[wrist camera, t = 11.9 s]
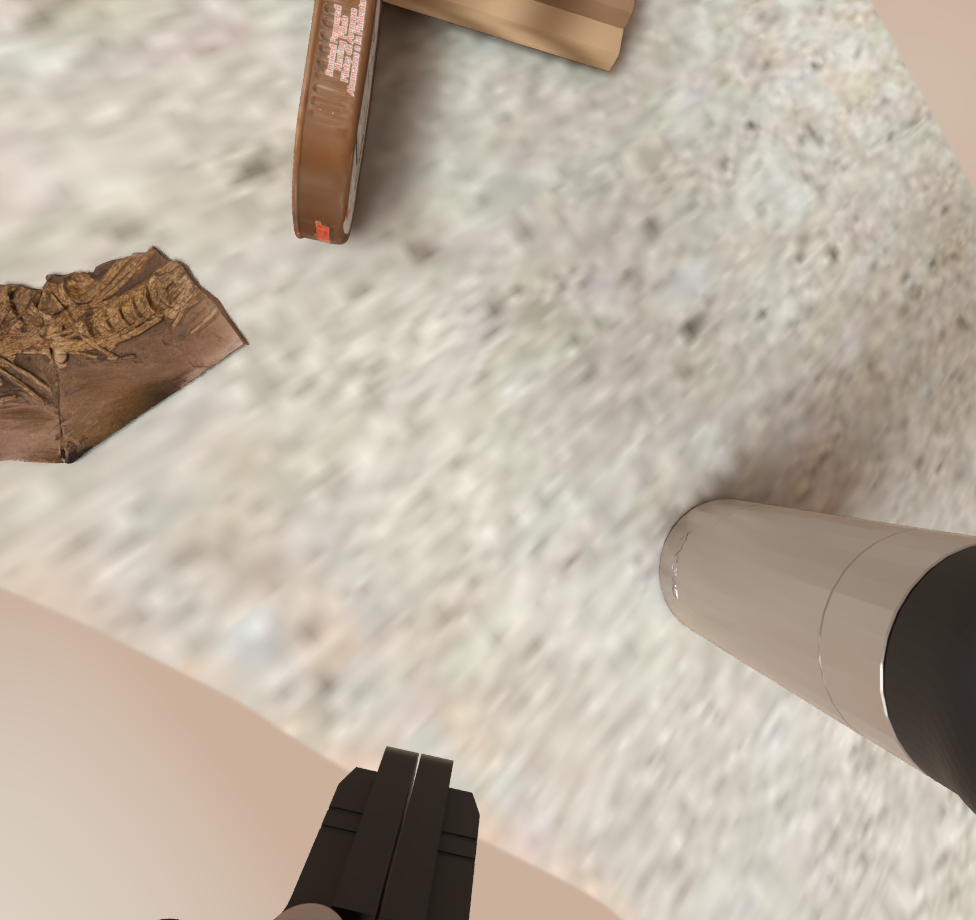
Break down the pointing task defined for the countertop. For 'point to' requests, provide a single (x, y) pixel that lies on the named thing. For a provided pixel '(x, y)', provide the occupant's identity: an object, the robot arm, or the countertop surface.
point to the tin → (334, 117)
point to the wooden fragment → (101, 352)
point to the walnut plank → (541, 24)
